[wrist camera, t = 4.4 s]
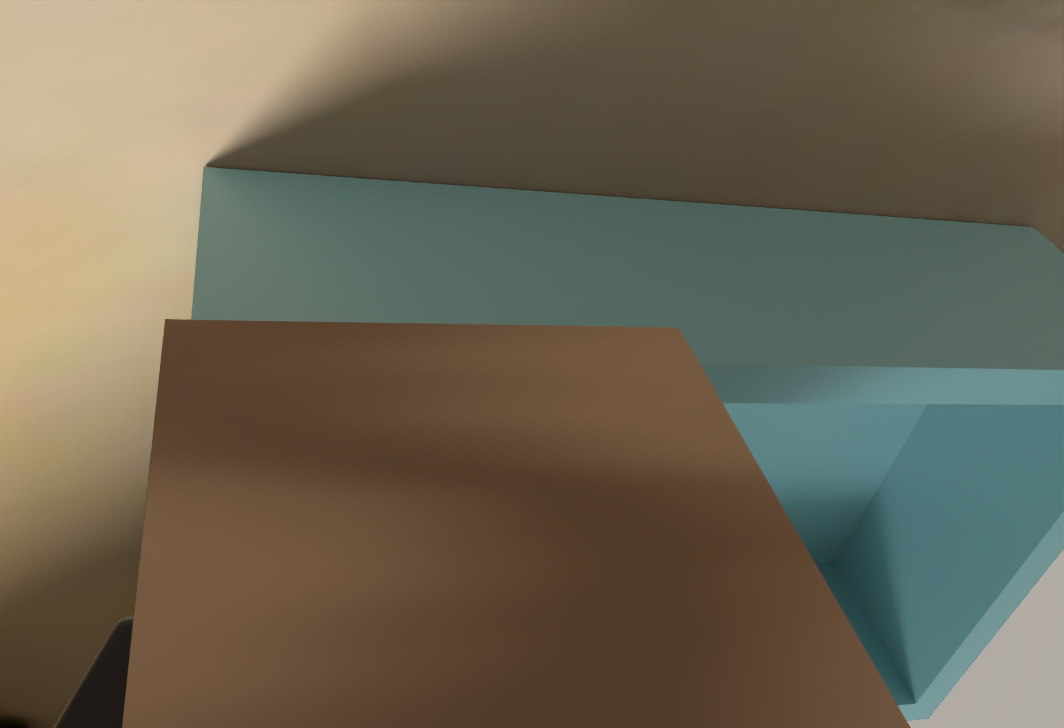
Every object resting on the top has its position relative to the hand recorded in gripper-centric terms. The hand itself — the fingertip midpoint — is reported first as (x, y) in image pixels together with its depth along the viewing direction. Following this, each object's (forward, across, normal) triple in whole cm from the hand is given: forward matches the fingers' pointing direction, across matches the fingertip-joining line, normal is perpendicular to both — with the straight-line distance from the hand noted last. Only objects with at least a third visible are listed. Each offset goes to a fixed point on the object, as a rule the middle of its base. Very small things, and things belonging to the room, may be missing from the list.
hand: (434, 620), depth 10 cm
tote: (+8, -5, +4) cm, 10 cm away
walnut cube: (+2, 0, 0) cm, 2 cm away
